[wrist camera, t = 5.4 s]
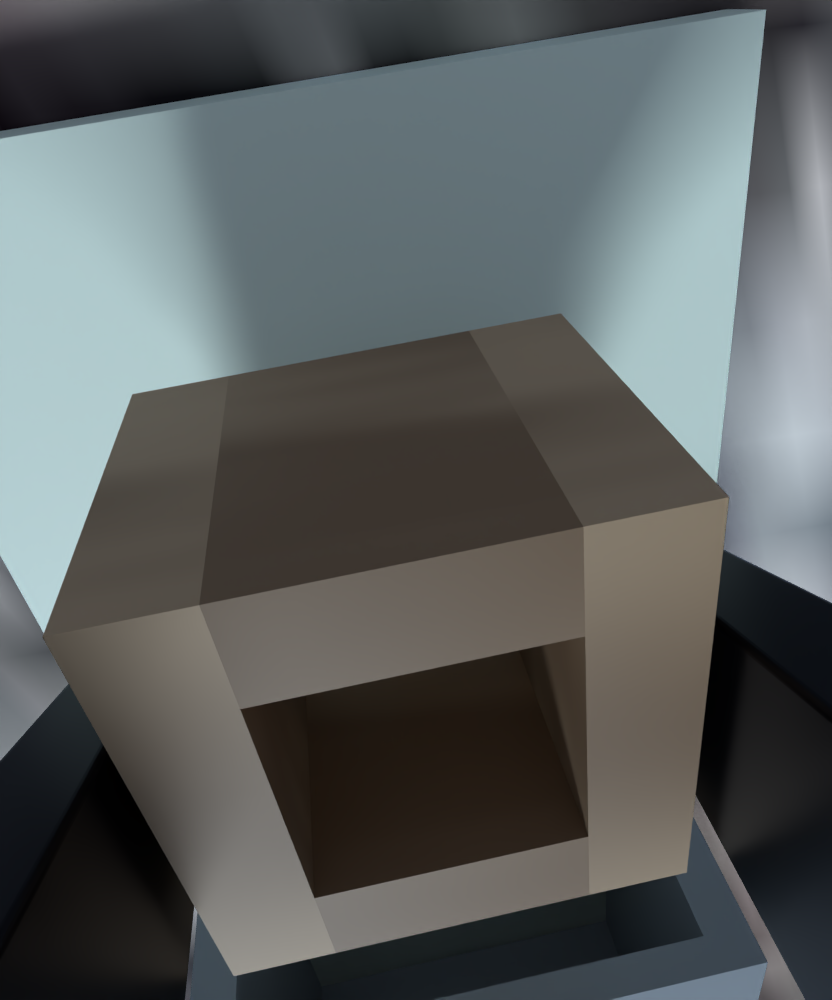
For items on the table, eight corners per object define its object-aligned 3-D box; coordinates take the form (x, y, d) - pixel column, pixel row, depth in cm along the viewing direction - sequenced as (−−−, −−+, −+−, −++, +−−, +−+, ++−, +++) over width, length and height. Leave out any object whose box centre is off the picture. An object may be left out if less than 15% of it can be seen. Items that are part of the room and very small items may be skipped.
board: (727, 8, 10) (977, 13, 7) (657, 882, 23) (732, 1055, 19) (-172, 159, 10) (-445, 256, 6) (256, 974, 22) (253, 1172, 18)
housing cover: (643, 719, 17) (767, 962, 12) (632, 928, 22) (719, 1152, 18) (206, 815, 16) (181, 1101, 12) (299, 1006, 21) (304, 1256, 17)
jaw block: (570, 625, 12) (687, 872, 8) (246, 694, 11) (234, 975, 8) (561, 312, 9) (729, 497, 6) (131, 394, 9) (43, 637, 5)
